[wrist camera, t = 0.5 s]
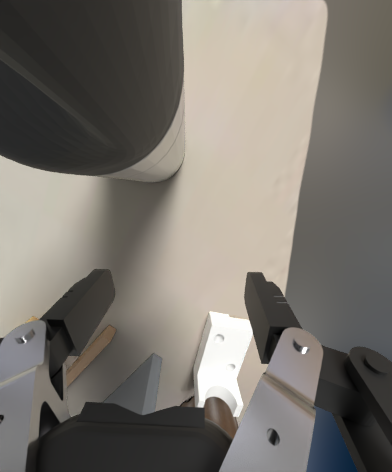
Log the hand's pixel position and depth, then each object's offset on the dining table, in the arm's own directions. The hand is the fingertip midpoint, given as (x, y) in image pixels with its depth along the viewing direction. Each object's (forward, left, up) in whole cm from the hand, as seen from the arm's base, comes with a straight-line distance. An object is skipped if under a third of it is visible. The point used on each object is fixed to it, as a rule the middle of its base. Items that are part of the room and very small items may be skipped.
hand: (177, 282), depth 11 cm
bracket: (+24, -1, -18) cm, 30 cm away
